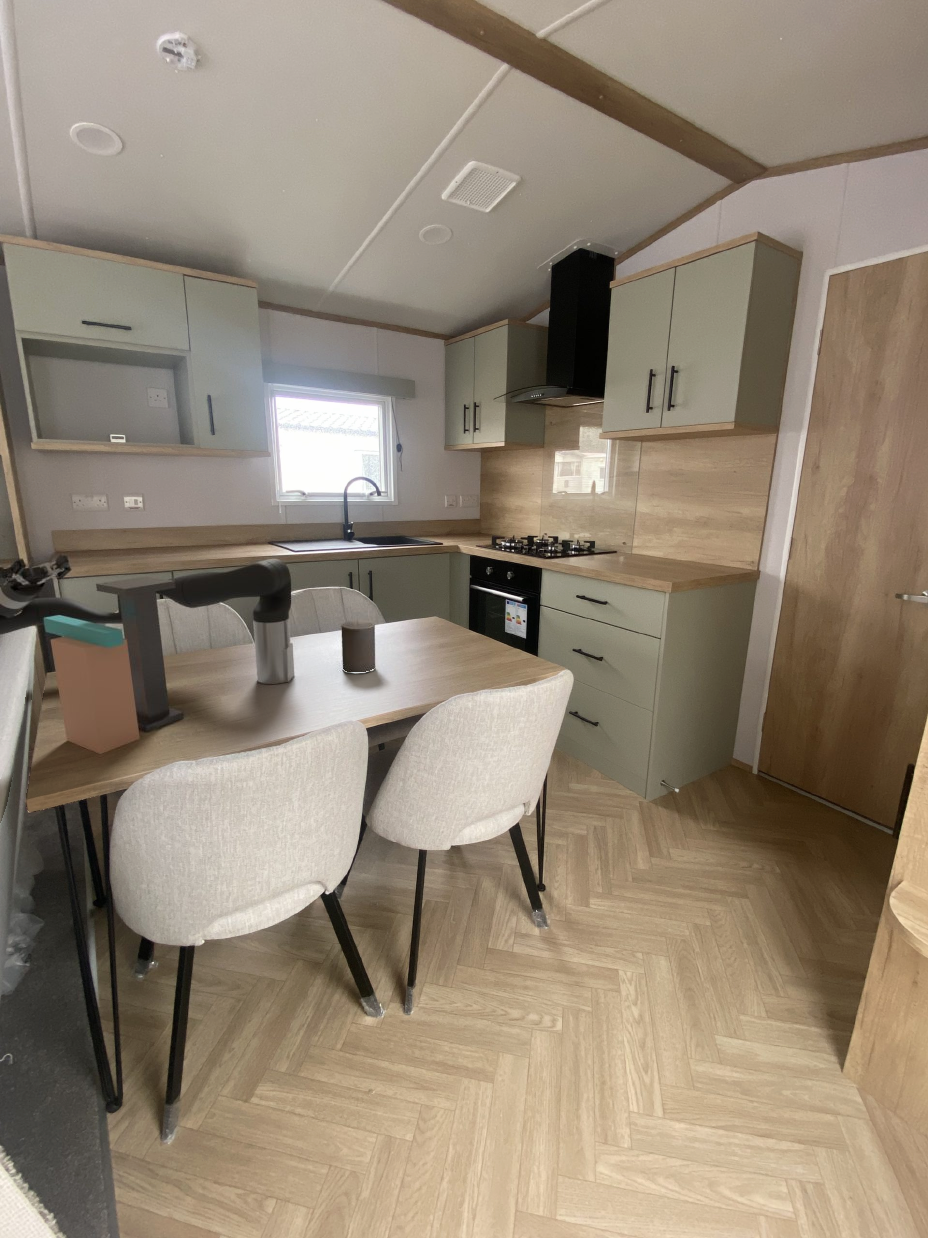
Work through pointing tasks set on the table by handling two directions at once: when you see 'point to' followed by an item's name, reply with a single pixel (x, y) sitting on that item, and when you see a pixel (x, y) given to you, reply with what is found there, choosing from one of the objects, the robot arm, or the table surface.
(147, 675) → the stand
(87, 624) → the teal bar
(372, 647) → the pillar candle
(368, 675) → the table surface
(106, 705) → the base block
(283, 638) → the robot arm
